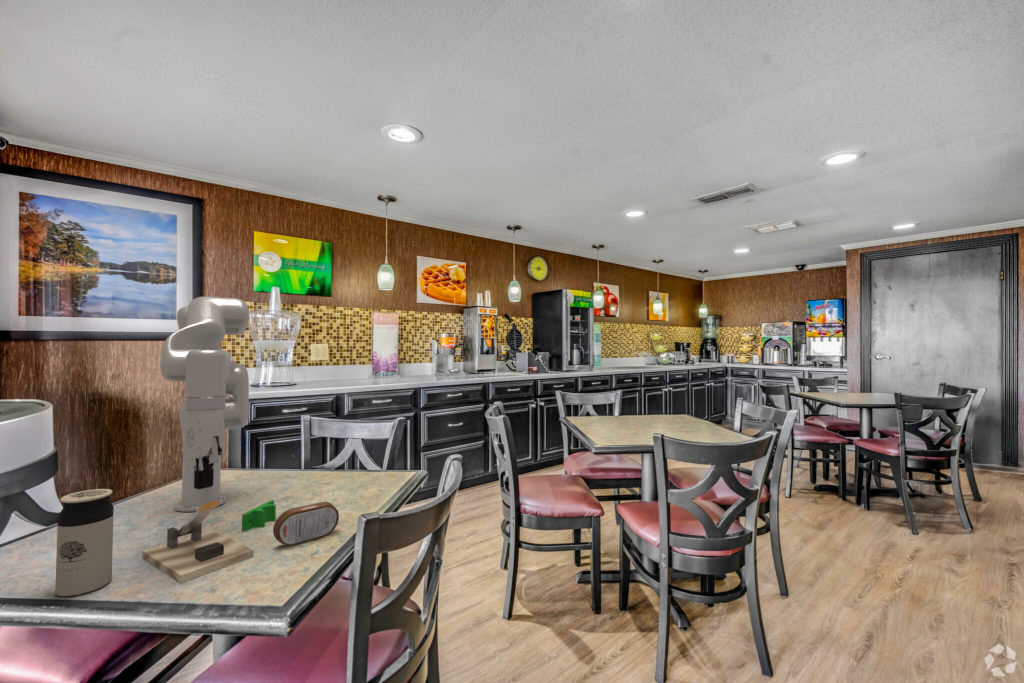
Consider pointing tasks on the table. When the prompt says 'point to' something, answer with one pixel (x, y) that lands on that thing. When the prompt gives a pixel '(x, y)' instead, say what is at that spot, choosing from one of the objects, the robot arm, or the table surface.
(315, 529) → the tin
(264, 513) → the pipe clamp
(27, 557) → the table surface
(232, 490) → the table surface
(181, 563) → the base plate
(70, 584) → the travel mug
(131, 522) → the table surface
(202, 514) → the hinged lever
